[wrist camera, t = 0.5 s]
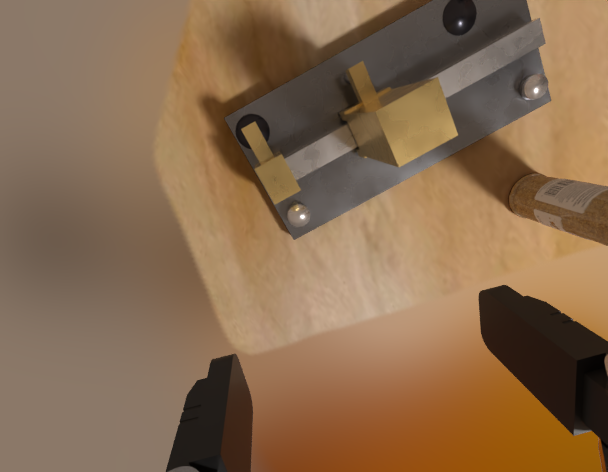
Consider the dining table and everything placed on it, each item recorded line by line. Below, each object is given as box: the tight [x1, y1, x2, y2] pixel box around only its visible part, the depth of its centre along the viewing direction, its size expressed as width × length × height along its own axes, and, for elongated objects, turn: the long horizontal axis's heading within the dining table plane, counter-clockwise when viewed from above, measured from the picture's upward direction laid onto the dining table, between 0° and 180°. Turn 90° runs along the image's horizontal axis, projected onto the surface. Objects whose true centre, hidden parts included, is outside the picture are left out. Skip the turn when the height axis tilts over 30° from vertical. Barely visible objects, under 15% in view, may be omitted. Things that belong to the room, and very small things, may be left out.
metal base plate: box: [224, 0, 551, 240], centre depth 30 cm, size 26×12×2 cm, turn 118°
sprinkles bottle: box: [509, 173, 608, 246], centre depth 29 cm, size 5×5×13 cm
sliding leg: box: [339, 61, 458, 167], centre depth 25 cm, size 4×7×10 cm, turn 28°
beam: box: [241, 18, 546, 204], centre depth 28 cm, size 25×6×3 cm, turn 118°
